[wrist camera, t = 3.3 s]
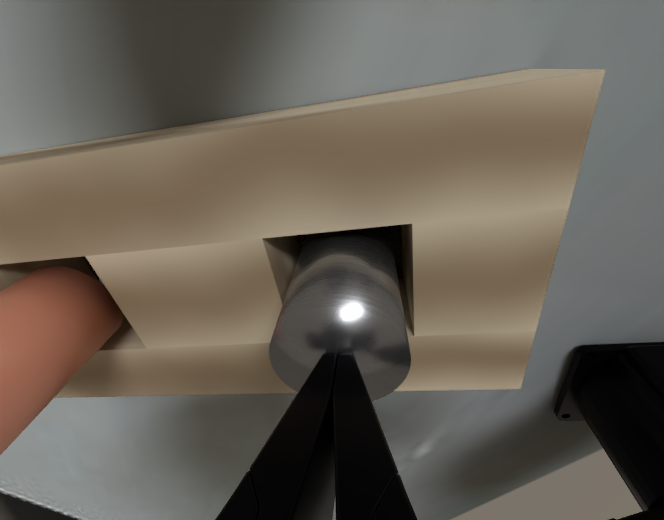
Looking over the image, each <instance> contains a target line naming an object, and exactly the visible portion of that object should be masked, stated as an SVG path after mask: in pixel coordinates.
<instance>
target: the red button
mask: <svg viewBox="0 0 664 520" xmlns="http://www.w3.org/2000/svg"><path fill="white" fill-rule="evenodd" d="M122 320H123V315H122V311H121V309H120V308H119V306H118V305H117V303H116V302H115V300H114V299H113V297H112V296H111V294H110V293H109V291H108V290H107V288H105V287H104V286H103V285H102V284H101V283H99V282H98V281H97V280H95V279H94V278H92V277H90V276H88V275H87V274H85V273H82V272H80V271H78V270H75V269H72V268H69V267H64V266H58V265H48V266H43V267H40V268H38V269H36V270H35V271H33V272H31V273H30V274H28V275H26V276H25V277H23V278H22V279H20V280H18V281H17V282H15V283H14V284H12V285H10V286H9V287H7V288H5V289H4V290H2V291H1V292H0V455H1V454H2V453H3V452H4V451H5V450H6V449H7V447H8V446H9V445H10V444H11V443H12V442H13V441H14V440H15V439H16V438H17V437H18V436H19V435H20V434H21V432H22V431H23V430H24V429H25V428H26V427H27V426H28V425H29V424H30V423H31V422H32V421H33V420H34V419H35V417H36V416H37V415H38V414H39V413H40V412H41V411H42V410H43V409H44V408H45V407H46V406H47V405H48V404H49V402H50V401H51V400H52V399H53V398H54V397H55V396H56V395H57V394H58V393H59V392H60V391H61V390H62V389H63V387H64V386H65V385H66V384H67V383H68V382H69V381H70V380H71V379H72V378H73V377H74V376H75V375H76V374H77V372H78V371H79V370H80V369H81V368H82V367H83V366H84V365H85V364H86V363H87V362H88V361H89V360H90V359H91V357H92V356H93V355H94V354H95V353H96V352H97V351H98V350H99V349H100V348H101V347H102V346H103V345H104V344H105V342H106V341H107V340H108V339H109V338H110V337H111V336H112V335H113V334H114V333H115V332H116V331H117V330H118V329H119V327H120V326H121V324H122Z"/></svg>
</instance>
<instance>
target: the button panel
mask: <svg viewBox="0 0 664 520" xmlns="http://www.w3.org/2000/svg"><path fill="white" fill-rule="evenodd" d="M605 71H606V70H590V69H524V70H518V71H512V72H506V73H500V74H494V75H488V76H482V77H476V78H470V79H464V80H457V81H451V82H445V83H439V84H433V85H427V86H421V87H415V88H409V89H403V90H397V91H391V92H385V93H378V94H372V95H366V96H360V97H354V98H348V99H342V100H336V101H330V102H324V103H318V104H312V105H306V106H300V107H293V108H287V109H281V110H275V111H269V112H263V113H257V114H251V115H245V116H239V117H233V118H227V119H221V120H214V121H208V122H202V123H196V124H190V125H184V126H178V127H172V128H166V129H160V130H154V131H148V132H142V133H136V134H129V135H123V136H117V137H111V138H105V139H99V140H93V141H87V142H81V143H75V144H69V145H63V146H57V147H51V148H44V149H38V150H32V151H26V152H20V153H14V154H8V155H2V156H0V292H1V291H2V290H4V289H5V288H7V287H9V286H10V285H12V284H14V283H15V282H17V281H18V280H20V279H22V278H23V277H25V276H26V275H28V274H30V273H31V272H33V271H35V270H36V269H38V268H40V267H43V266H48V265H58V266H64V267H69V268H72V269H75V270H78V271H80V272H82V273H85V274H87V275H88V276H90V277H92V278H94V279H95V280H97V281H98V282H99V280H98V279H97V277H96V276H95V275H94V273H93V272H92V270H91V269H90V267H89V266H88V264H87V263H86V261H85V260H84V258H83V257H82V256H85V257H86V258H87V260H88V261H89V263H90V264H91V266H92V267H93V269H94V270H95V272H96V273H97V275H98V276H99V278H100V279H101V281H102V282H103V284H104V285H105V287H106V288H107V290H108V291H109V293H110V294H111V296H112V297H113V299H114V300H115V302H116V303H117V305H118V306H119V308H120V309H121V311H122V315H123V320H122V324H121V326H120V327H119V329H118V330H117V331H116V332H115V333H114V334H113V335H112V336H111V337H110V338H109V339H108V340H107V341H106V342H105V344H104V345H103V346H102V347H101V348H100V349H99V350H98V351H97V352H96V353H95V354H94V355H93V356H92V357H91V359H90V360H89V361H88V362H87V363H86V364H85V365H84V366H83V367H82V368H81V369H80V370H79V371H78V372H77V374H76V375H75V376H74V377H73V378H72V379H71V380H70V381H69V382H68V383H67V384H66V385H65V386H64V387H63V389H62V390H61V391H60V392H59V393H58V394H57V395H56V396H55V397H54V398H63V397H115V396H168V395H220V394H273V393H298V392H296V391H295V390H293V389H292V388H290V387H289V386H287V385H286V384H285V383H284V382H283V381H282V380H281V379H280V378H279V377H278V376H277V374H276V373H275V371H274V369H273V367H272V365H271V362H270V359H269V345H270V341H271V338H272V335H273V332H274V329H275V326H276V323H277V320H278V317H279V314H280V311H281V308H282V305H283V302H284V299H285V297H286V294H287V291H288V288H289V285H290V282H291V279H292V276H293V273H294V270H295V267H296V264H297V261H298V258H299V255H300V250H299V246H298V242H297V238H296V235H303V234H313V233H323V232H333V231H343V230H353V229H363V228H373V227H383V226H393V225H401V236H402V263H403V278H401V279H398V282H399V288H400V294H401V300H402V306H403V312H404V318H405V324H406V330H407V336H408V342H409V348H410V354H411V367H410V370H409V373H408V375H407V377H406V379H405V380H404V381H403V383H402V384H401V385H400V386H399V387H398V388H397V389H395V390H394V391H431V390H483V389H521V386H522V382H523V378H524V375H525V371H526V367H527V363H528V360H529V356H530V352H531V348H532V345H533V341H534V337H535V333H536V330H537V326H538V322H539V318H540V315H541V311H542V307H543V303H544V300H545V296H546V292H547V288H548V285H549V281H550V277H551V273H552V270H553V266H554V262H555V258H556V255H557V251H558V247H559V243H560V240H561V236H562V232H563V228H564V225H565V221H566V217H567V213H568V210H569V206H570V202H571V198H572V195H573V191H574V187H575V183H576V180H577V176H578V172H579V168H580V165H581V161H582V157H583V153H584V150H585V146H586V142H587V138H588V135H589V131H590V127H591V123H592V120H593V116H594V112H595V108H596V105H597V101H598V97H599V93H600V90H601V86H602V82H603V78H604V75H605ZM99 283H100V282H99Z"/></svg>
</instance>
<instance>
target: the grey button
mask: <svg viewBox="0 0 664 520" xmlns="http://www.w3.org/2000/svg"><path fill="white" fill-rule="evenodd" d="M341 352H352V353H353V354H354V357H355V359H356V362H357V365H358V367H359V370H360V373H361V375H362V378H363V380H364V383H365V386H366V388H367V391H368V394H369V396H370V399H371V401H373V400H376V399H379V398H382V397H384V396H386V395H388V394H389V393H391V392H393V391H394V390H395V389H397V388H398V387H399V386H400V385H401V384H402V383H403V381H404V380H405V379H406V377H407V375H408V373H409V370H410V367H411V354H410V348H409V342H408V336H407V330H406V324H405V318H404V312H403V306H402V300H401V294H400V288H399V282H398V276H397V270H396V264H395V258H394V252H393V248H392V244H391V242H390V240H389V238H388V237H387V235H386V234H385V233H384V232H383V231H382V230H381V229H380V228H379V227H373V228H363V229H353V230H343V231H333V232H323V233H313V234H308V235H307V237H306V239H305V241H304V243H303V246H302V249H301V252H300V255H299V258H298V261H297V264H296V267H295V270H294V273H293V276H292V279H291V282H290V285H289V288H288V291H287V294H286V297H285V299H284V302H283V305H282V308H281V311H280V314H279V317H278V320H277V323H276V326H275V329H274V332H273V335H272V338H271V341H270V345H269V359H270V362H271V365H272V367H273V369H274V371H275V373H276V374H277V376H278V377H279V378H280V379H281V380H282V381H283V382H284V383H285V384H286V385H287V386H289V387H290V388H292V389H293V390H295V391H296V392H299V391H300V389H301V387H302V386H303V384H304V383H305V381H306V380H307V378H308V377H309V375H310V373H311V372H312V370H313V369H314V367H315V366H316V364H317V362H318V361H319V359H320V358H321V356H322V355H323V354H324V353H337V354H339V353H341Z"/></svg>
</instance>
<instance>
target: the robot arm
mask: <svg viewBox="0 0 664 520" xmlns="http://www.w3.org/2000/svg"><path fill="white" fill-rule="evenodd" d="M554 413H555V414H556V416H557V418H558V419H559V420H564V421H573V420H586V422H587V423H588V425H589V427H590V428H591V430H592V431H593V433H594V434H595V436H596V438H597V439H598V441H599V442H600V444H601V446H602V447H603V449H604V450H605V452H606V453H607V455H608V457H609V458H610V460H611V461H612V463H613V465H614V466H615V468H616V469H617V471H618V472H619V474H620V476H621V477H622V479H623V480H624V482H625V483H626V485H627V487H628V488H629V490H630V491H631V493H632V495H633V496H634V498H635V499H636V501H637V502H638V504H639V506H640V507H641V509H642V510H643V511H642V512H639V513H637V514H633V515H630V516H627V517H624V518H621V519H618V520H664V342H661V343H635V344H608V345H587V346H583V347H581V348H579V349H578V350H577V351H576V354H575V356H574V359H573V362H572V364H571V367H570V370H569V372H568V375H567V377H566V380H565V383H564V385H563V388H562V391H561V393H560V396H559V399H558V401H557V404H556V407H555V409H554ZM335 498H336V520H417V517H416V515H415V513H414V510H413V508H412V505H411V503H410V501H409V498H408V496H407V493H406V491H405V488H404V485H403V483H402V480H401V477H400V475H398V470H397V467H396V465H395V462H394V459H393V457H392V454H391V452H390V449H389V446H388V444H387V441H386V438H385V436H384V433H383V430H382V428H381V425H380V423H379V420H378V417H377V415H376V412H375V409H374V407H373V404H372V402H371V399H370V396H369V394H368V391H367V388H366V386H365V383H364V380H363V378H362V375H361V373H360V370H359V367H358V365H357V362H356V359H355V357H354V354H353V353H352V352H341V353H339V354H337V353H324V354H323V355H322V356H321V358H320V359H319V361H318V362H317V364H316V366H315V367H314V369H313V370H312V372H311V373H310V375H309V377H308V378H307V380H306V381H305V383H304V384H303V386H302V387H301V389H300V391H299V392H298V394H297V395H296V397H295V398H294V400H293V401H292V403H291V405H290V406H289V408H288V409H287V411H286V412H285V414H284V416H283V417H282V419H281V420H280V422H279V423H278V425H277V426H276V428H275V430H274V431H273V433H272V434H271V436H270V437H269V439H268V440H267V442H266V444H265V445H264V447H263V448H262V450H261V451H260V453H259V455H258V456H257V458H256V459H255V461H254V462H253V464H252V465H251V467H250V471H248V472H247V473H246V474H245V476H244V478H243V479H242V481H241V482H240V484H239V486H238V487H237V489H236V490H235V492H234V493H233V495H232V496H231V498H230V499H229V500H228V502H227V503H226V505H225V506H224V508H223V509H222V511H221V512H220V514H219V515H218V516H217V518H216V519H215V520H332V517H333V509H334V500H335ZM609 520H616V519H614V518H612V519H609Z"/></svg>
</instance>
